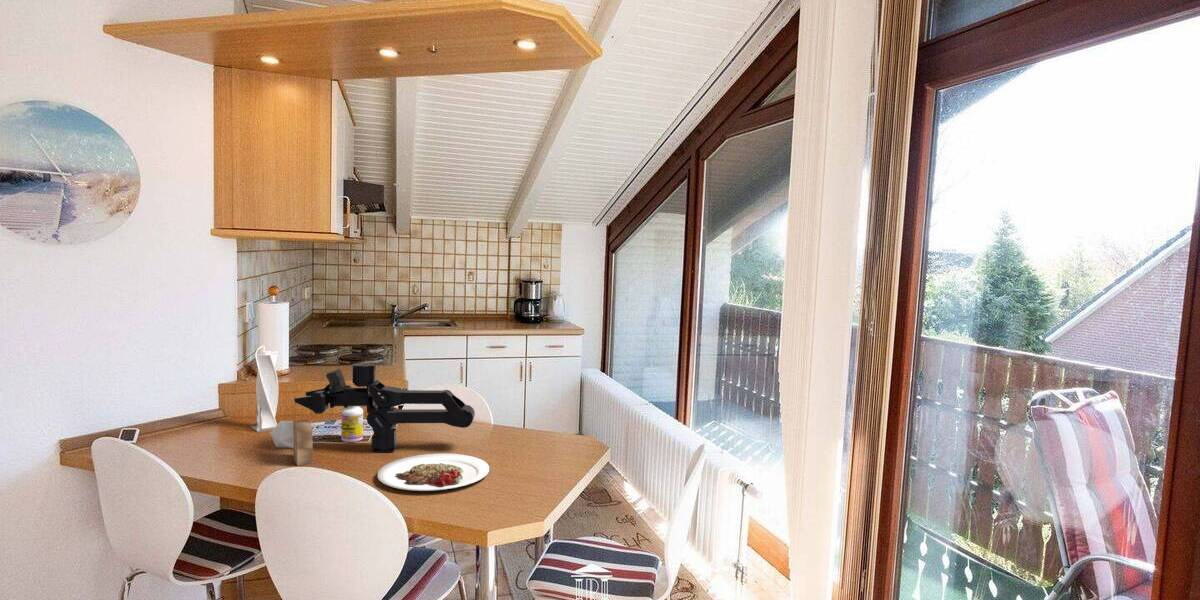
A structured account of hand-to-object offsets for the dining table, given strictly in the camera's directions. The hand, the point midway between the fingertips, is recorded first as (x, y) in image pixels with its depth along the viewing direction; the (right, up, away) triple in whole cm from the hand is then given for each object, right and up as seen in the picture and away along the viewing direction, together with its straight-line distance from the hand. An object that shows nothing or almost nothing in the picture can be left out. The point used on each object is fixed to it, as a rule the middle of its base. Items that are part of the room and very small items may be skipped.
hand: (300, 396), depth 199 cm
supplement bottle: (+11, -16, +13) cm, 24 cm away
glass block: (+5, -17, -9) cm, 20 cm away
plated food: (+46, -20, -19) cm, 53 cm away
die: (-6, -16, +5) cm, 18 cm away
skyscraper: (-23, -15, +25) cm, 37 cm away
